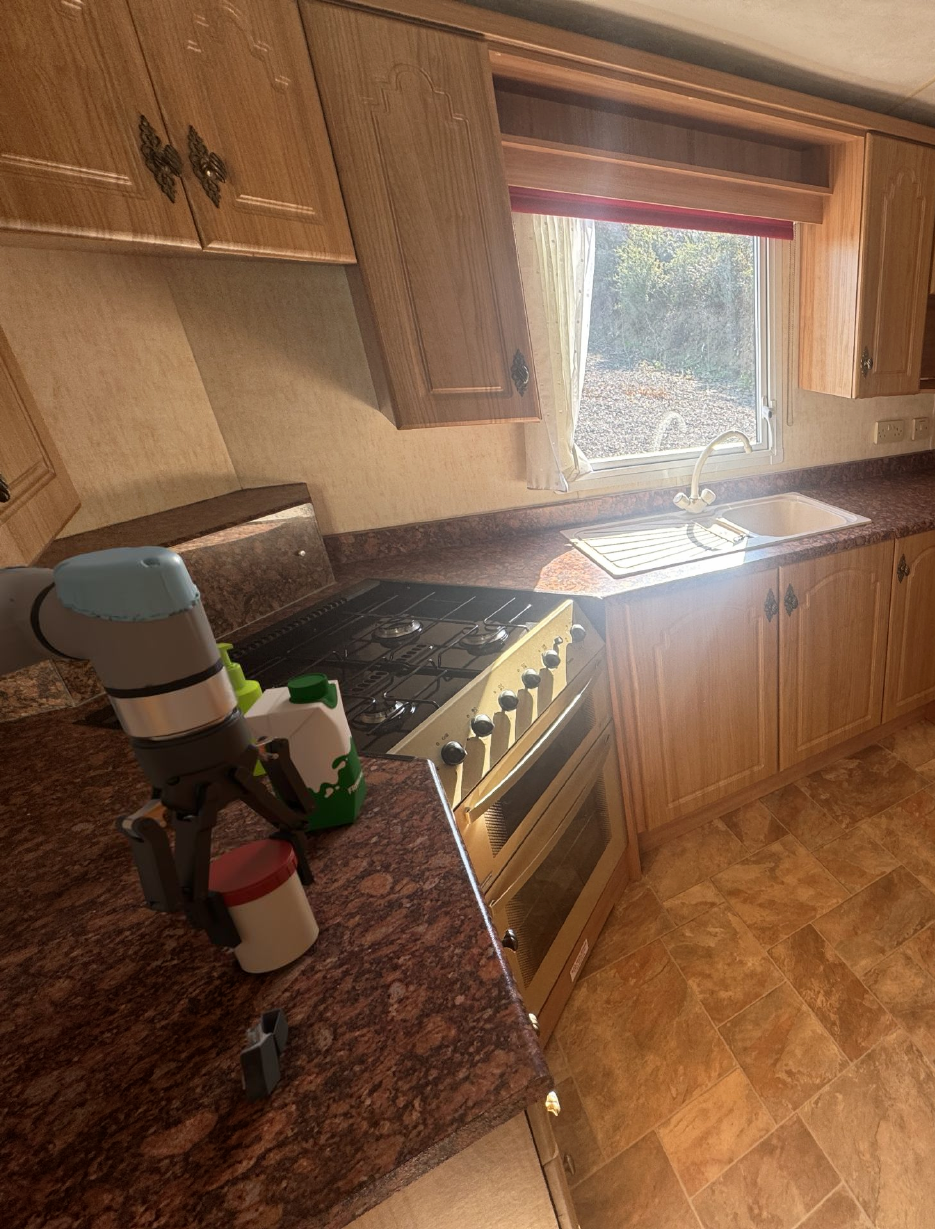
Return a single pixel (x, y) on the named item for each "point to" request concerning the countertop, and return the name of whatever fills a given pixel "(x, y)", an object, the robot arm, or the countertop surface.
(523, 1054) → the countertop surface
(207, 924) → the robot arm
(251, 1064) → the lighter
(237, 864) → the jam lid
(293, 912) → the jam jar
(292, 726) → the milk carton
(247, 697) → the soap dispenser
